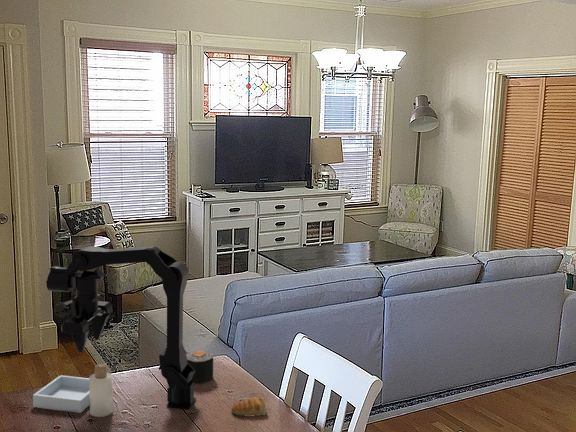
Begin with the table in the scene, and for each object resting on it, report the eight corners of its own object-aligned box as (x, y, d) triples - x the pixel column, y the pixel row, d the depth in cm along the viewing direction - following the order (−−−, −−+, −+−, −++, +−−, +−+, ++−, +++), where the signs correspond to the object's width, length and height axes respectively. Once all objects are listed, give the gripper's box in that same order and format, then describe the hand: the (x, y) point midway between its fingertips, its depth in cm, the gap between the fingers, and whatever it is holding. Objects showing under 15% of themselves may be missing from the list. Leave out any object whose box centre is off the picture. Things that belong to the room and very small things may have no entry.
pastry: (233, 419, 173) (233, 405, 173) (229, 408, 180) (229, 395, 179) (267, 416, 175) (268, 403, 175) (262, 405, 182) (263, 392, 181)
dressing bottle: (116, 408, 178) (116, 362, 176) (106, 418, 172) (105, 371, 170) (96, 405, 179) (95, 360, 177) (85, 415, 173) (84, 369, 171)
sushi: (179, 378, 198) (179, 354, 197) (199, 370, 205) (199, 346, 203) (198, 386, 193) (198, 360, 192) (218, 377, 200) (218, 352, 199)
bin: (105, 391, 188) (104, 380, 187) (80, 412, 174) (80, 400, 174) (60, 386, 190) (60, 375, 190) (33, 407, 177) (32, 395, 176)
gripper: (76, 280, 190) (78, 330, 193) (41, 300, 172) (44, 356, 175) (112, 283, 188) (113, 334, 191) (80, 304, 170) (83, 360, 173)
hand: (89, 345), depth 183 cm, fingers open, 9 cm apart
